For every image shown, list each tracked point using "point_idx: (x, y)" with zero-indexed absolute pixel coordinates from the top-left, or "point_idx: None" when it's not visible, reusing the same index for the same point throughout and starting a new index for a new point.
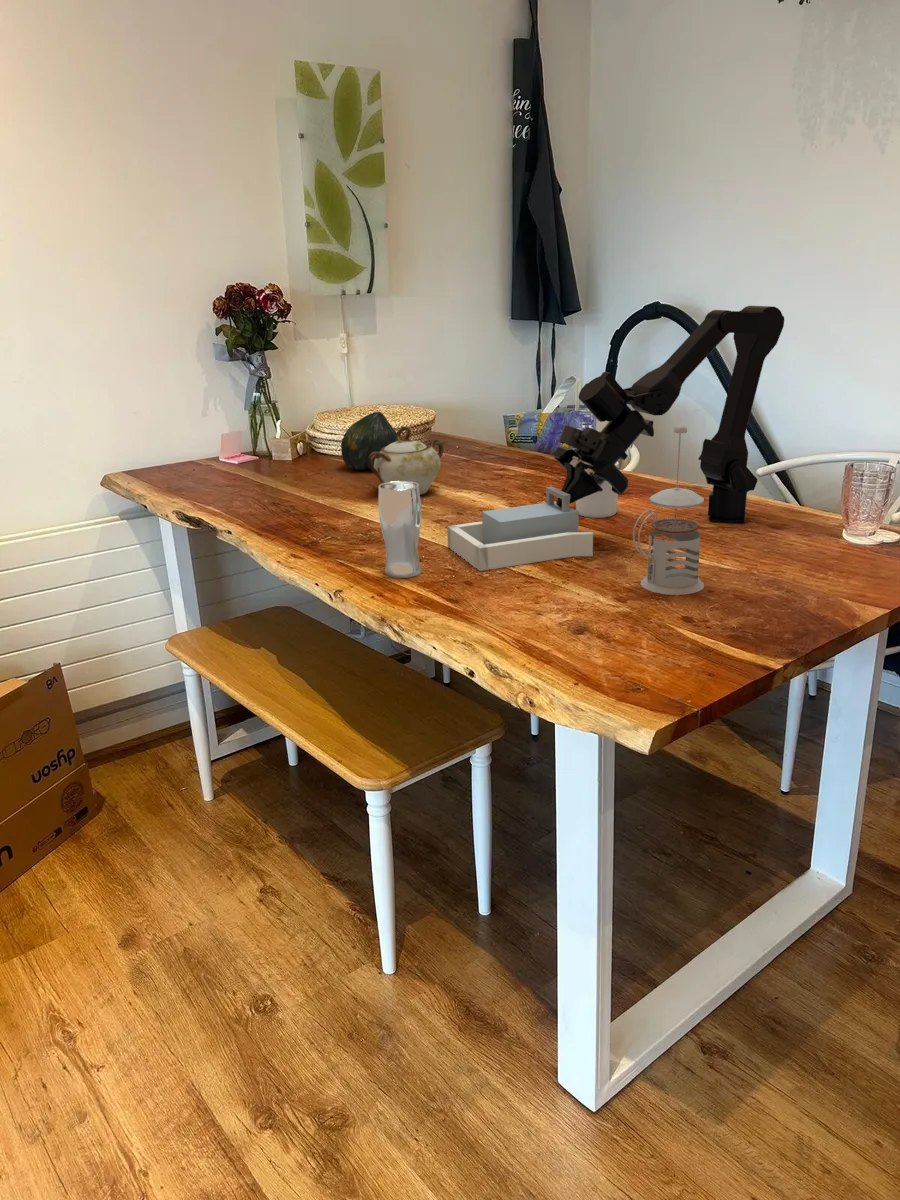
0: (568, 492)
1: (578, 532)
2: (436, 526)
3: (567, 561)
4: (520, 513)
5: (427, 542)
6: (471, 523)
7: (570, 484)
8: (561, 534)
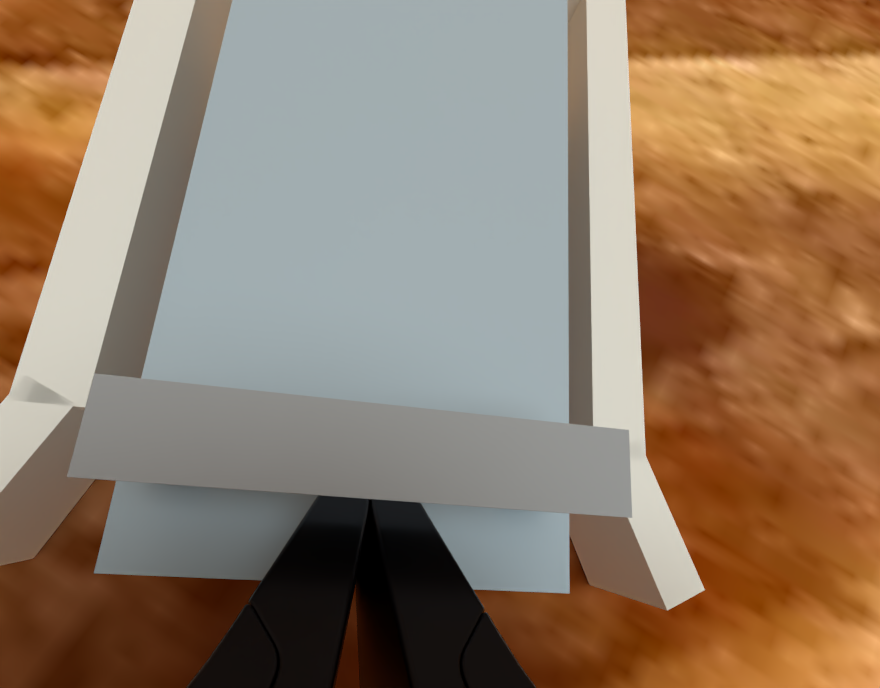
0: (270, 570)
1: (16, 466)
2: (857, 176)
3: None
4: (378, 113)
5: (670, 41)
6: (618, 67)
7: (310, 669)
8: (71, 323)
